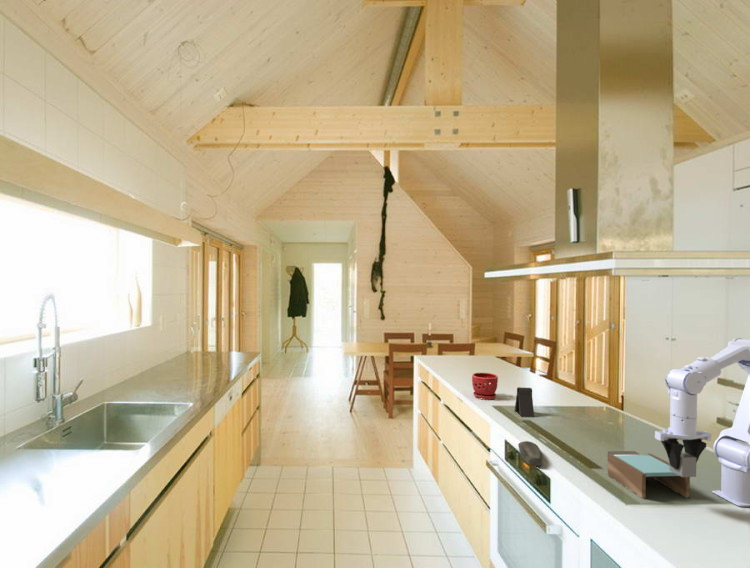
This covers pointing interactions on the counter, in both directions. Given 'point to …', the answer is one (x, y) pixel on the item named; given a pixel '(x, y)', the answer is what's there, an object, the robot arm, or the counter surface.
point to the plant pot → (484, 385)
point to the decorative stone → (530, 453)
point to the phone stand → (524, 402)
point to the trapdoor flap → (644, 463)
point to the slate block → (685, 466)
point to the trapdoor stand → (644, 477)
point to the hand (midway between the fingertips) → (682, 467)
